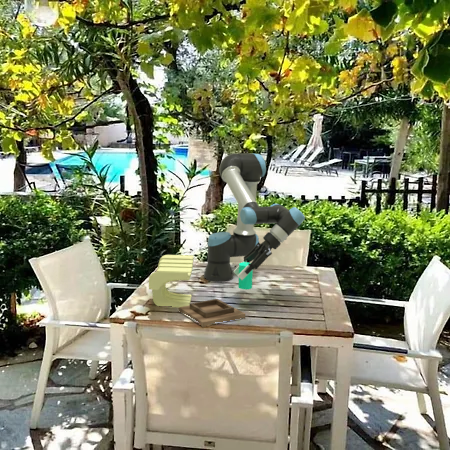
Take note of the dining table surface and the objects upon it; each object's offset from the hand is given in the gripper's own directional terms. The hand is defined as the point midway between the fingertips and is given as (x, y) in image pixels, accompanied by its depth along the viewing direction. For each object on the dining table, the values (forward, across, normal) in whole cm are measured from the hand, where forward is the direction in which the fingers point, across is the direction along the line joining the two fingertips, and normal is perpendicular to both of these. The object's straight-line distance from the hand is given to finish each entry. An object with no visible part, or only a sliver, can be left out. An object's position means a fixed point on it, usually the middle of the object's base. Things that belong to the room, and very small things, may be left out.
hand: (237, 275), depth 219 cm
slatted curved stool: (+29, +12, +8) cm, 32 cm away
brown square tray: (+19, -8, -1) cm, 20 cm away
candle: (+1, 0, -7) cm, 7 cm away
